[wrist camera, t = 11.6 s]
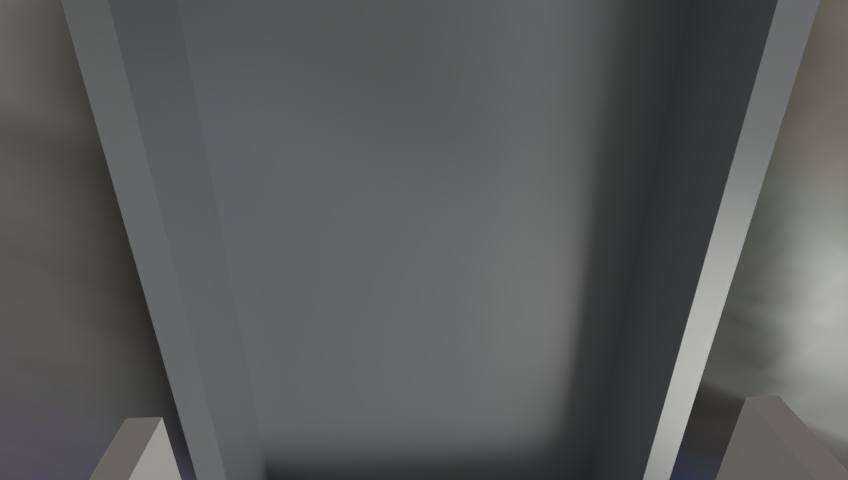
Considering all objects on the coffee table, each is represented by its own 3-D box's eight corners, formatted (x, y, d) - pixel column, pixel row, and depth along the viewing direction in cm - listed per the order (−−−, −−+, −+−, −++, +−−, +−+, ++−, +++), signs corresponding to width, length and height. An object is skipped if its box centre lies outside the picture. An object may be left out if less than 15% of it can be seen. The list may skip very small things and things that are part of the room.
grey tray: (257, 500, 25) (231, 598, 21) (115, -163, 14) (-3, -222, 10) (600, 486, 26) (637, 578, 22) (747, -155, 14) (884, -206, 10)
